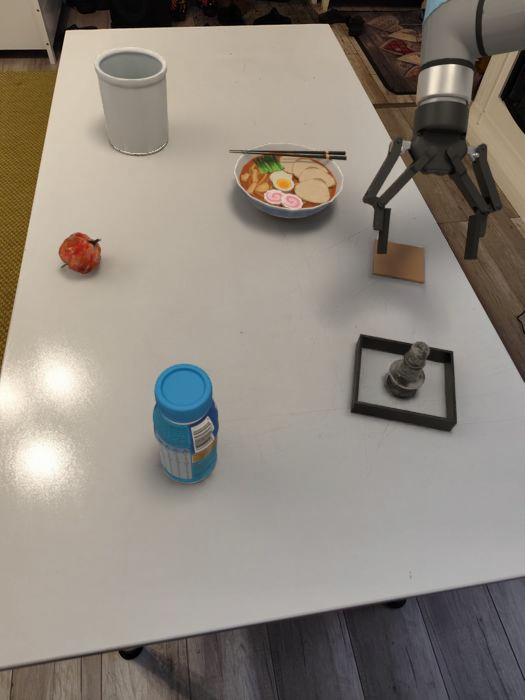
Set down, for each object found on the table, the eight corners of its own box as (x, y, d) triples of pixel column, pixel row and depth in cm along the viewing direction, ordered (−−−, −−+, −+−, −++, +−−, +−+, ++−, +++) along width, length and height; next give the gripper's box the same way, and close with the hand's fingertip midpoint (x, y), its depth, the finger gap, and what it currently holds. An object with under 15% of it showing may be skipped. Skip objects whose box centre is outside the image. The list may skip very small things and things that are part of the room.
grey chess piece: (415, 372, 89) (440, 328, 79) (420, 401, 85) (447, 359, 76) (381, 370, 88) (402, 325, 79) (385, 399, 85) (407, 357, 75)
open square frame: (446, 361, 91) (453, 351, 88) (450, 431, 82) (457, 422, 80) (356, 344, 91) (360, 333, 89) (350, 412, 83) (354, 402, 81)
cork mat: (422, 249, 107) (423, 247, 107) (423, 283, 101) (424, 281, 101) (374, 240, 108) (375, 238, 107) (372, 274, 102) (373, 272, 101)
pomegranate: (70, 291, 96) (109, 269, 92) (38, 265, 92) (77, 240, 87) (80, 266, 101) (117, 244, 97) (50, 240, 97) (88, 215, 92)
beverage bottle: (157, 485, 73) (142, 417, 57) (162, 431, 78) (150, 355, 62) (217, 486, 74) (218, 418, 58) (218, 432, 79) (220, 357, 63)
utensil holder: (145, 114, 129) (136, 39, 115) (184, 141, 123) (181, 65, 109) (94, 135, 122) (79, 58, 108) (134, 165, 116) (123, 87, 102)
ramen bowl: (226, 235, 105) (227, 202, 98) (228, 167, 119) (229, 134, 112) (347, 241, 107) (356, 210, 100) (336, 174, 120) (343, 142, 114)
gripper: (512, 121, 79) (494, 262, 82) (350, 107, 77) (338, 252, 81) (540, 105, 72) (520, 261, 75) (363, 90, 70) (349, 250, 73)
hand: (426, 257), depth 78 cm, fingers open, 13 cm apart
